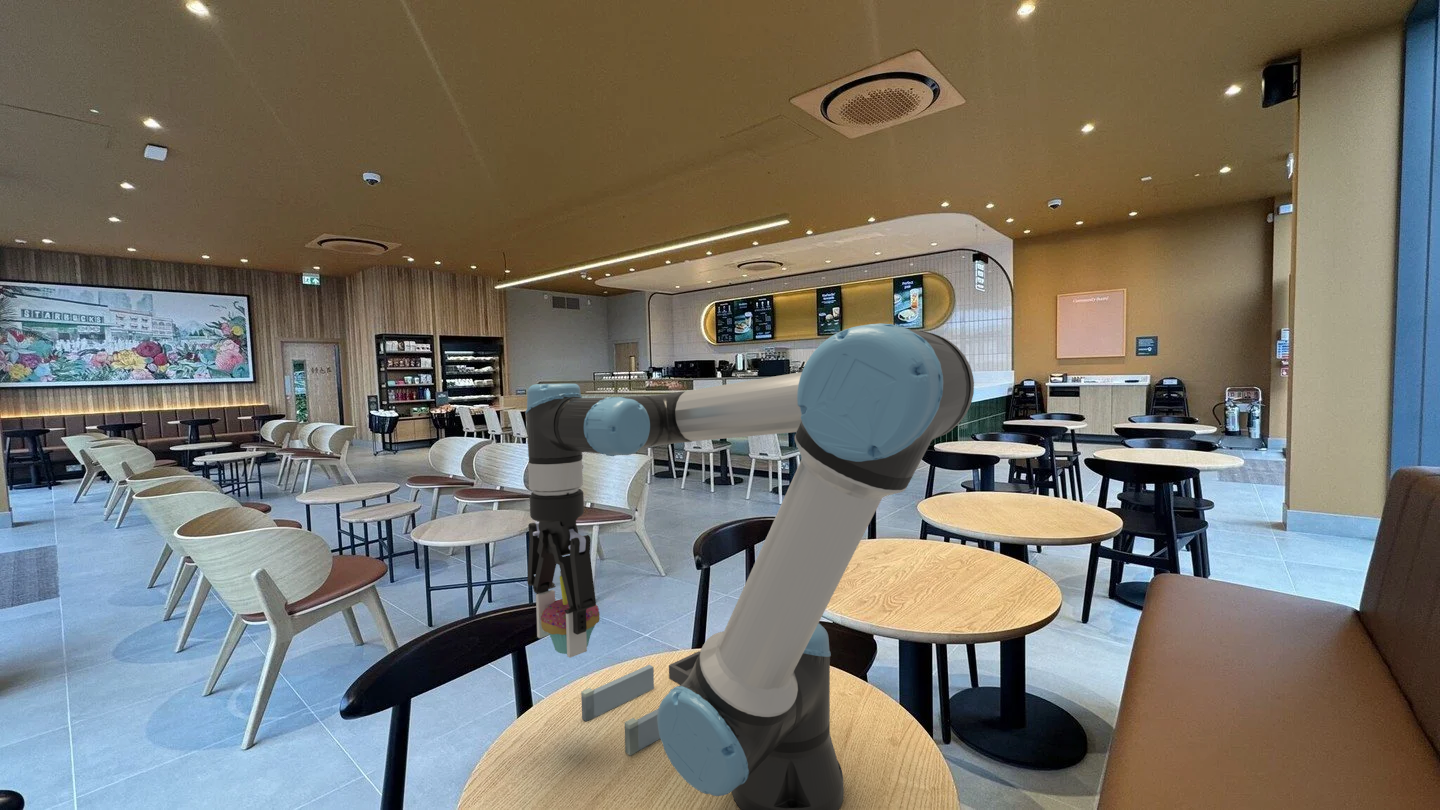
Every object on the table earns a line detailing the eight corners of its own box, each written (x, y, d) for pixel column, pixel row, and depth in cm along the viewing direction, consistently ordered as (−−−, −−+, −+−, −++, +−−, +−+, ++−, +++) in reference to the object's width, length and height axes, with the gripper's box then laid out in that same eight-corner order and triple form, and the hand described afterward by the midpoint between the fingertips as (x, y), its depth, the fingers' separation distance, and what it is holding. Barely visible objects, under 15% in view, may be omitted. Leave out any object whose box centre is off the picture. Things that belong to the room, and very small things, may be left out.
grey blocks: (699, 716, 96) (699, 688, 96) (630, 755, 86) (629, 725, 86) (649, 686, 105) (649, 661, 105) (582, 718, 96) (581, 691, 95)
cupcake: (582, 663, 81) (579, 578, 80) (529, 656, 83) (525, 574, 83) (610, 636, 89) (607, 559, 89) (561, 631, 91) (558, 556, 91)
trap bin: (746, 687, 104) (746, 674, 104) (716, 704, 99) (716, 690, 99) (699, 663, 113) (699, 651, 113) (669, 678, 108) (668, 665, 108)
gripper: (620, 495, 79) (624, 658, 80) (545, 478, 94) (549, 616, 95) (570, 504, 74) (576, 679, 75) (500, 485, 89) (505, 630, 90)
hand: (561, 643), depth 85 cm, fingers closed on cupcake, 8 cm apart
